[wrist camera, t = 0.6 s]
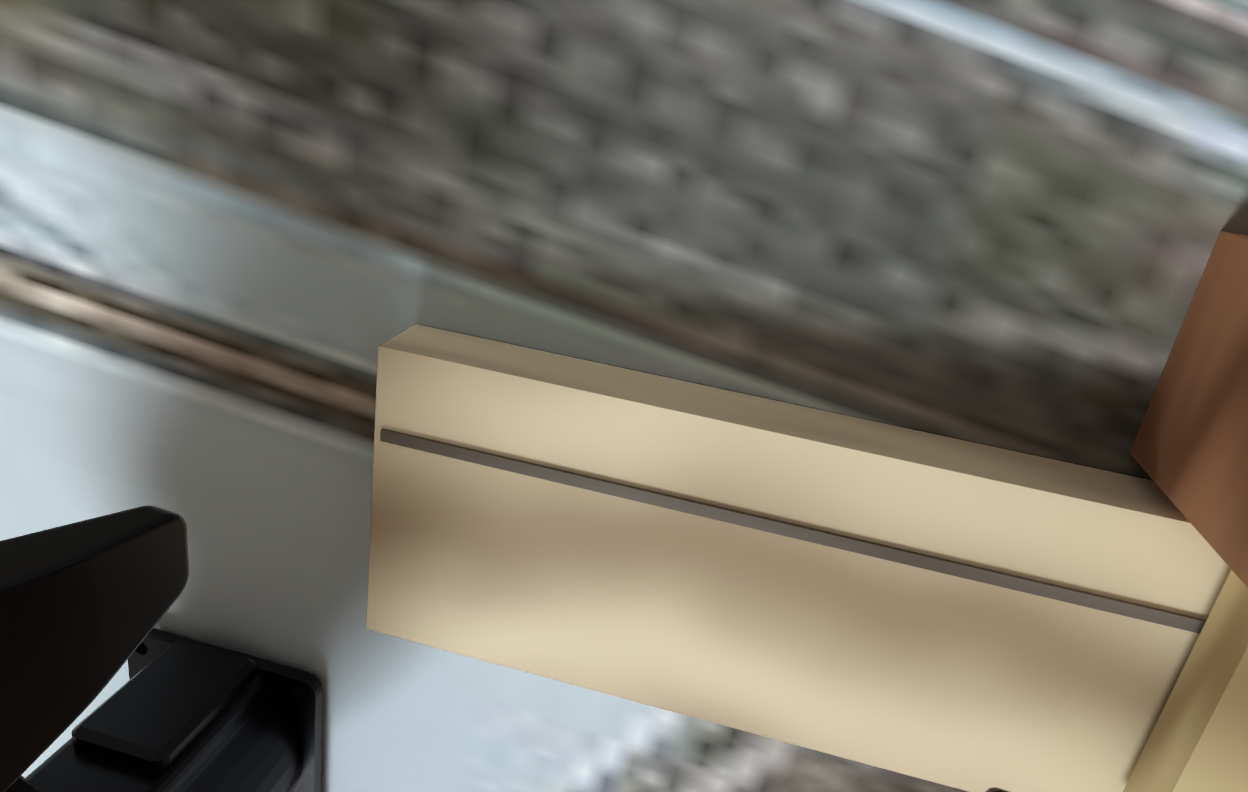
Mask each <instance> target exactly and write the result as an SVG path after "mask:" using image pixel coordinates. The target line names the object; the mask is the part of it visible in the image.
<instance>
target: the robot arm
mask: <svg viewBox="0 0 1248 792" xmlns="http://www.w3.org/2000/svg"><path fill="white" fill-rule="evenodd" d="M188 575H189V561H188V544H187V528H186V523H185V521H184V519H183V518H182V517H181V516H180V515H178V514H176V513H173V512H170V511H167V510H164V509H161V508H158V507H155V506H142V507H138V508H134V509H130V510H125V511H121V512H117V513H113V514H109V515H105V516H101V517H97V518H93V519H89V520H85V521H81V522H76V523H72V524H68V525H64V526H60V527H56V528H52V529H48V530H44V531H40V532H36V533H32V534H27V535H23V536H19V537H15V538H11V539H7V540H3V541H0V792H321V753H322V701H323V688H322V684H321V682H320V680H319V679H318V678H317V677H316V676H315V675H313V674H311V673H309V672H306V671H302V670H299V669H295V668H292V667H288V666H285V665H281V664H278V663H274V662H270V661H267V660H263V659H260V658H256V657H253V656H249V655H245V654H242V653H238V652H235V651H231V650H228V649H224V648H221V647H217V646H213V645H210V644H206V643H203V642H199V641H196V640H192V639H188V638H185V637H181V636H178V635H174V634H171V633H167V632H164V631H160V630H156V629H153V627H154V626H155V625H156V624H157V622H158V621H159V620H160V619H161V618H162V616H163V615H164V614H165V613H166V611H167V610H168V609H169V608H170V607H171V605H172V604H173V603H174V602H175V600H176V599H177V598H178V597H179V595H180V594H181V593H182V591H183V589H184V587H185V585H186V583H187V580H188ZM127 659H128V667H129V678H130V680H129V681H128V682H127V683H126V684H125V685H123V686H122V687H121V688H120V689H119V690H118V691H116V692H115V693H114V694H113V695H112V696H111V697H109V698H108V699H107V700H106V701H105V702H104V703H103V704H101V705H100V706H99V707H98V708H97V709H96V710H94V711H93V712H92V713H91V714H90V715H89V716H87V717H86V718H85V719H84V720H83V721H82V722H80V723H79V724H78V725H77V726H76V727H75V728H74V729H73V731H72V738H71V739H70V740H68V741H67V742H66V743H65V744H64V745H63V746H62V747H60V748H59V749H58V750H57V751H56V752H55V753H53V754H52V755H51V756H50V757H49V758H48V759H47V760H45V761H44V762H43V763H42V764H41V765H40V766H39V767H37V768H36V769H35V770H34V771H33V772H32V773H31V774H29V775H28V776H27V777H26V778H24V777H23V776H22V774H23V773H24V772H25V771H26V769H27V768H28V767H29V766H30V765H31V764H32V763H33V762H34V761H35V760H36V759H37V758H38V757H39V756H40V755H41V754H42V753H43V752H44V751H45V750H46V749H47V748H48V747H49V746H50V745H51V744H52V743H53V742H54V741H55V740H56V739H57V738H58V737H59V736H60V735H61V734H62V733H63V732H64V731H65V730H66V729H67V728H68V727H69V726H70V725H71V724H72V723H73V722H74V721H75V719H76V718H77V717H78V716H79V715H80V714H81V713H82V712H83V711H84V710H85V709H86V708H87V707H88V706H89V704H90V703H91V702H92V701H93V700H94V699H95V698H96V696H97V695H98V694H99V693H100V692H101V691H102V690H103V688H104V687H105V686H106V685H107V684H108V683H109V681H110V680H111V679H112V678H113V676H114V675H115V674H116V673H117V672H118V670H119V669H120V668H121V667H122V665H123V664H124V663H125V662H126V660H127ZM303 688H304V689H305V690H304V689H303ZM985 792H1009V791H1006V790H1003V789H1000V788H996V787H993V788H989V789H988V790H987V791H985Z"/></svg>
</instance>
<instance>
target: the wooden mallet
mask: <svg viewBox="0 0 1248 792" xmlns="http://www.w3.org/2000/svg"><path fill="white" fill-rule="evenodd" d="M1129 454H1130V455H1131V456H1132V457H1133V458H1134V459H1135V460H1136V462H1137V463H1138V464H1139V465H1140V466H1141V467H1142V468H1143V470H1144V471H1145V472H1146V473H1147V474H1148V475H1149V476H1150V478H1151V479H1152V480H1153V481H1154V482H1155V483H1156V484H1157V485H1158V487H1159V488H1160V489H1161V490H1162V491H1163V492H1164V493H1165V495H1166V496H1167V497H1168V498H1169V499H1170V500H1171V501H1172V503H1173V504H1174V505H1175V506H1176V507H1177V508H1178V509H1179V510H1180V512H1181V513H1182V514H1183V515H1184V516H1185V517H1186V518H1187V520H1188V521H1189V522H1190V523H1191V524H1192V525H1193V526H1194V528H1195V529H1196V530H1197V531H1198V532H1199V533H1200V534H1201V535H1202V537H1203V538H1204V539H1205V540H1206V541H1207V542H1208V543H1209V545H1210V546H1211V547H1212V548H1213V549H1214V550H1215V551H1216V553H1217V554H1218V555H1219V556H1220V557H1221V558H1222V559H1223V560H1224V562H1225V563H1226V564H1227V565H1228V566H1229V567H1230V568H1231V571H1230V574H1229V576H1228V578H1227V580H1226V582H1225V584H1224V586H1223V588H1222V590H1221V592H1220V594H1219V596H1218V598H1217V600H1216V602H1215V604H1214V606H1213V608H1212V610H1211V612H1210V614H1209V616H1208V619H1207V621H1206V623H1205V625H1204V627H1203V629H1202V631H1201V633H1200V635H1199V637H1198V639H1197V641H1196V643H1195V645H1194V647H1193V649H1192V651H1191V653H1190V655H1189V657H1188V659H1187V661H1186V664H1185V666H1184V668H1183V670H1182V672H1181V674H1180V676H1179V678H1178V680H1177V682H1176V684H1175V686H1174V688H1173V690H1172V692H1171V694H1170V696H1169V698H1168V700H1167V702H1166V704H1165V706H1164V709H1163V711H1162V713H1161V715H1160V717H1159V719H1158V721H1157V723H1156V725H1155V727H1154V729H1153V731H1152V733H1151V735H1150V737H1149V739H1148V741H1147V743H1146V745H1145V747H1144V749H1143V751H1142V754H1141V756H1140V758H1139V760H1138V762H1137V764H1136V766H1135V768H1134V770H1133V772H1132V774H1131V776H1130V778H1129V780H1128V782H1127V784H1126V786H1125V788H1124V790H1123V792H1248V236H1247V235H1242V234H1236V233H1230V232H1224V231H1220V233H1219V235H1218V238H1217V240H1216V243H1215V245H1214V248H1213V250H1212V253H1211V255H1210V257H1209V260H1208V262H1207V265H1206V267H1205V270H1204V272H1203V274H1202V277H1201V279H1200V282H1199V284H1198V287H1197V289H1196V292H1195V294H1194V296H1193V299H1192V301H1191V304H1190V306H1189V309H1188V311H1187V313H1186V316H1185V318H1184V321H1183V323H1182V326H1181V328H1180V331H1179V333H1178V335H1177V338H1176V340H1175V343H1174V345H1173V348H1172V350H1171V352H1170V355H1169V357H1168V360H1167V362H1166V365H1165V367H1164V370H1163V372H1162V374H1161V377H1160V379H1159V382H1158V384H1157V387H1156V389H1155V391H1154V394H1153V396H1152V399H1151V401H1150V404H1149V406H1148V409H1147V411H1146V413H1145V416H1144V418H1143V421H1142V423H1141V426H1140V428H1139V430H1138V433H1137V435H1136V438H1135V440H1134V443H1133V445H1132V448H1131V450H1130V452H1129Z"/></svg>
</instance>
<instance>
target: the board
mask: <svg viewBox="0 0 1248 792" xmlns="http://www.w3.org/2000/svg"><path fill="white" fill-rule="evenodd" d="M1230 571H1231V568H1230V567H1229V566H1228V565H1227V564H1226V563H1225V562H1224V560H1223V559H1222V558H1221V557H1220V556H1219V555H1218V554H1217V553H1216V551H1215V550H1214V549H1213V548H1212V547H1211V546H1210V545H1209V543H1208V542H1207V541H1206V540H1205V539H1204V538H1203V537H1202V535H1201V534H1200V533H1199V532H1198V531H1197V530H1196V529H1195V528H1194V526H1193V525H1192V524H1191V523H1190V522H1189V521H1188V520H1187V518H1186V517H1185V516H1184V515H1183V514H1182V513H1181V512H1180V510H1179V509H1178V508H1177V507H1176V506H1175V505H1174V504H1173V503H1172V501H1171V500H1170V499H1169V498H1168V497H1167V496H1166V495H1165V493H1164V492H1163V491H1162V490H1161V489H1160V488H1159V487H1158V485H1157V484H1156V483H1155V482H1154V481H1152V480H1147V479H1143V478H1138V477H1133V476H1129V475H1124V474H1119V473H1114V472H1110V471H1105V470H1100V469H1096V468H1091V467H1086V466H1082V465H1077V464H1072V463H1067V462H1063V461H1058V460H1053V459H1049V458H1044V457H1039V456H1034V455H1030V454H1025V453H1020V452H1016V451H1011V450H1006V449H1002V448H997V447H992V446H987V445H983V444H978V443H973V442H969V441H964V440H959V439H954V438H950V437H945V436H940V435H936V434H931V433H926V432H922V431H917V430H912V429H907V428H903V427H898V426H893V425H889V424H884V423H879V422H874V421H870V420H865V419H860V418H856V417H851V416H846V415H842V414H837V413H832V412H827V411H823V410H818V409H813V408H809V407H804V406H799V405H794V404H790V403H785V402H780V401H776V400H771V399H766V398H761V397H757V396H752V395H747V394H743V393H738V392H733V391H729V390H724V389H719V388H714V387H710V386H705V385H700V384H696V383H691V382H686V381H681V380H677V379H672V378H667V377H663V376H658V375H653V374H649V373H644V372H639V371H634V370H630V369H625V368H620V367H616V366H611V365H606V364H601V363H597V362H592V361H587V360H583V359H578V358H573V357H569V356H564V355H559V354H554V353H550V352H545V351H540V350H536V349H531V348H526V347H521V346H517V345H512V344H507V343H503V342H498V341H493V340H489V339H484V338H479V337H474V336H470V335H465V334H460V333H456V332H451V331H446V330H441V329H437V328H432V327H427V326H423V325H418V324H415V325H413V326H412V327H410V328H408V329H406V330H405V331H403V332H401V333H400V334H398V335H396V336H394V337H393V338H391V339H389V340H388V341H386V342H384V343H382V344H381V345H379V346H378V363H377V386H376V410H375V434H374V458H373V482H372V506H371V530H370V554H369V577H368V601H367V625H366V629H368V630H372V631H376V632H379V633H383V634H387V635H390V636H394V637H398V638H402V639H405V640H409V641H413V642H416V643H420V644H424V645H427V646H431V647H435V648H439V649H442V650H446V651H450V652H453V653H457V654H461V655H465V656H468V657H472V658H476V659H479V660H483V661H487V662H490V663H494V664H498V665H502V666H505V667H509V668H513V669H516V670H520V671H524V672H528V673H531V674H535V675H539V676H542V677H546V678H550V679H553V680H557V681H561V682H565V683H568V684H572V685H576V686H579V687H583V688H587V689H591V690H594V691H598V692H602V693H605V694H609V695H613V696H616V697H620V698H624V699H628V700H631V701H635V702H639V703H642V704H646V705H650V706H654V707H657V708H661V709H665V710H668V711H672V712H676V713H679V714H683V715H687V716H691V717H694V718H698V719H702V720H705V721H709V722H713V723H717V724H720V725H724V726H728V727H731V728H735V729H739V730H742V731H746V732H750V733H754V734H757V735H761V736H765V737H768V738H772V739H776V740H780V741H783V742H787V743H791V744H794V745H798V746H802V747H805V748H809V749H813V750H817V751H820V752H824V753H828V754H831V755H835V756H839V757H843V758H846V759H850V760H854V761H857V762H861V763H865V764H868V765H872V766H876V767H880V768H883V769H887V770H891V771H894V772H898V773H902V774H906V775H909V776H913V777H917V778H920V779H924V780H928V781H931V782H935V783H939V784H943V785H946V786H950V787H954V788H957V789H961V790H965V791H968V792H985V791H987V790H988V789H989V788H993V787H996V788H1000V789H1003V790H1006V791H1009V792H1123V790H1124V788H1125V786H1126V784H1127V782H1128V780H1129V778H1130V776H1131V774H1132V772H1133V770H1134V768H1135V766H1136V764H1137V762H1138V760H1139V758H1140V756H1141V754H1142V751H1143V749H1144V747H1145V745H1146V743H1147V741H1148V739H1149V737H1150V735H1151V733H1152V731H1153V729H1154V727H1155V725H1156V723H1157V721H1158V719H1159V717H1160V715H1161V713H1162V711H1163V709H1164V706H1165V704H1166V702H1167V700H1168V698H1169V696H1170V694H1171V692H1172V690H1173V688H1174V686H1175V684H1176V682H1177V680H1178V678H1179V676H1180V674H1181V672H1182V670H1183V668H1184V666H1185V664H1186V661H1187V659H1188V657H1189V655H1190V653H1191V651H1192V649H1193V647H1194V645H1195V643H1196V641H1197V639H1198V637H1199V635H1200V633H1201V631H1202V629H1203V627H1204V625H1205V623H1206V621H1207V619H1208V616H1209V614H1210V612H1211V610H1212V608H1213V606H1214V604H1215V602H1216V600H1217V598H1218V596H1219V594H1220V592H1221V590H1222V588H1223V586H1224V584H1225V582H1226V580H1227V578H1228V576H1229V574H1230Z"/></svg>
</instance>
